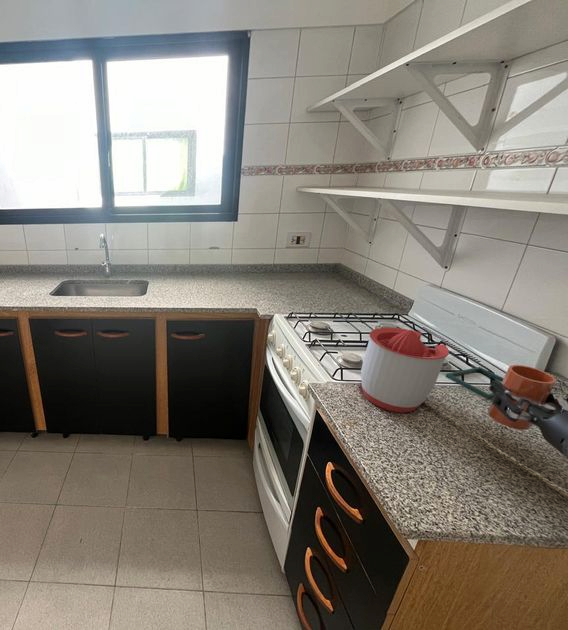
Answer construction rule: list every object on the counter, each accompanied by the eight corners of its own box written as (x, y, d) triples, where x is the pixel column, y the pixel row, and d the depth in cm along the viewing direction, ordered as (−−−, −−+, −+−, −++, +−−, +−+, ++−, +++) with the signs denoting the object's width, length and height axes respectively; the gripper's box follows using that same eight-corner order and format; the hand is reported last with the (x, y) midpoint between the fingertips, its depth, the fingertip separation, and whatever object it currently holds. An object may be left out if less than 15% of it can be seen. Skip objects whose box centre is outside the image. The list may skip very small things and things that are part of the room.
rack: (476, 374, 99) (479, 366, 98) (520, 395, 90) (524, 387, 89) (443, 381, 96) (446, 373, 95) (485, 403, 87) (489, 395, 86)
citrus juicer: (448, 413, 84) (479, 340, 76) (387, 423, 81) (413, 349, 73) (394, 377, 98) (415, 313, 90) (340, 385, 95) (357, 319, 87)
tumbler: (501, 406, 74) (523, 362, 70) (538, 426, 68) (565, 380, 64) (480, 412, 73) (500, 367, 68) (516, 432, 67) (541, 385, 62)
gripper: (663, 433, 52) (562, 373, 67) (551, 423, 55) (478, 367, 70) (635, 469, 55) (545, 404, 70) (531, 459, 58) (465, 397, 73)
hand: (512, 386), depth 70 cm, fingers closed on tumbler, 6 cm apart
